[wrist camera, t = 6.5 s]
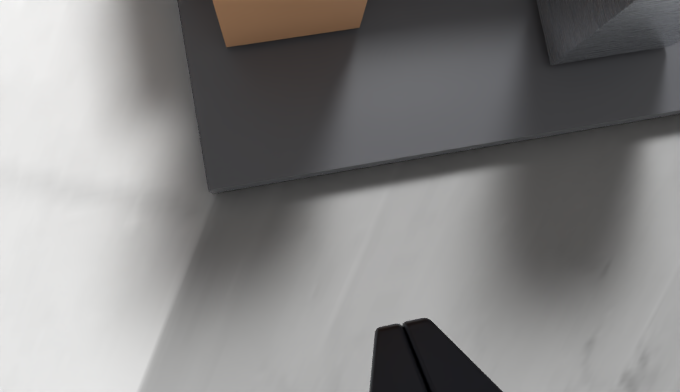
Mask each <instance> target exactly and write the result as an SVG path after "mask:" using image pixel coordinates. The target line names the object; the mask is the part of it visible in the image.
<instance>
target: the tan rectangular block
mask: <svg viewBox="0 0 680 392" xmlns="http://www.w3.org/2000/svg"><path fill="white" fill-rule="evenodd" d="M212 1H213V4H214V7H215V11H216V14H217V17H218V21H219V24H220V28H221V31H222V34H223V38H224V41H225V44H226V47H232V46H239V45H246V44H253V43H259V42H266V41H273V40H280V39H287V38H293V37H300V36H307V35H314V34H320V33H327V32H334V31H341V30H348V29H354V28H360V24H361V21H362V18H363V14H364V11H365V7H366V4H367V0H212Z"/></svg>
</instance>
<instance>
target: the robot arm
mask: <svg viewBox="0 0 680 392" xmlns="http://www.w3.org/2000/svg"><path fill="white" fill-rule="evenodd" d="M369 392H503V391H502V390H501V389H500V388H499V387H498V386H496V385H495V384H494V383H493V382H492V381H491V380H490V379H489V378H488V377H487V376H486V375H485V374H484V373H483V372H482V371H481V370H480V369H479V368H478V367H477V366H476V365H475V364H474V363H473V362H472V361H471V360H470V359H469V358H468V357H467V356H466V355H465V354H464V353H463V352H462V351H461V350H460V349H459V348H458V347H457V346H456V345H455V344H454V343H453V342H452V341H451V340H450V339H449V338H448V337H447V336H446V335H445V334H444V333H443V332H442V331H441V330H440V329H439V328H438V327H437V326H436V325H435V324H434V323H433V322H432V321H431V320H429V319H428V318H420V319H416V320H411V321H406V322H404V323H403V325H402V326H401V325H400V324H392V325H388V326H383V327H379V328H377V329H376V331H375V338H374V348H373V359H372V370H371V380H370V391H369Z"/></svg>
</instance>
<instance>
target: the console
mask: <svg viewBox="0 0 680 392" xmlns="http://www.w3.org/2000/svg"><path fill="white" fill-rule="evenodd" d="M178 6H179V12H180V18H181V24H182V30H183V36H184V43H185V49H186V55H187V61H188V67H189V73H190V79H191V85H192V91H193V98H194V104H195V110H196V116H197V122H198V128H199V134H200V140H201V146H202V153H203V159H204V165H205V171H206V177H207V183H208V189H209V191H210V192H211V193H212V194H213V193H219V192H224V191H230V190H236V189H242V188H248V187H254V186H260V185H265V184H271V183H277V182H283V181H289V180H295V179H301V178H306V177H312V176H318V175H324V174H330V173H336V172H341V171H347V170H353V169H359V168H365V167H371V166H377V165H382V164H388V163H394V162H400V161H406V160H412V159H418V158H423V157H429V156H435V155H441V154H447V153H453V152H459V151H464V150H470V149H476V148H482V147H488V146H494V145H500V144H505V143H511V142H517V141H523V140H529V139H535V138H540V137H546V136H552V135H558V134H564V133H570V132H576V131H581V130H587V129H593V128H599V127H605V126H611V125H617V124H622V123H628V122H634V121H640V120H646V119H652V118H658V117H663V116H669V115H675V114H680V42H678V43H676V44H675V45H673V46H669V47H663V48H656V49H650V50H644V51H637V52H631V53H625V54H619V55H612V56H606V57H600V58H593V59H587V60H581V61H574V62H568V63H562V64H556V65H551V64H550V60H549V55H548V51H547V46H546V42H545V37H544V33H543V28H542V24H541V19H540V15H539V10H538V6H537V1H536V0H367V4H366V7H365V11H364V14H363V18H362V21H361V24H360V28H354V29H348V30H341V31H334V32H327V33H320V34H314V35H307V36H300V37H293V38H287V39H280V40H273V41H266V42H259V43H253V44H246V45H239V46H232V47H226V44H225V41H224V38H223V34H222V31H221V28H220V24H219V21H218V17H217V14H216V11H215V7H214V4H213V1H212V0H178Z"/></svg>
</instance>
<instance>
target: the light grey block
mask: <svg viewBox="0 0 680 392" xmlns="http://www.w3.org/2000/svg"><path fill="white" fill-rule="evenodd" d="M536 1H537V6H538V10H539V15H540V19H541V24H542V28H543V33H544V37H545V42H546V46H547V51H548V55H549V60H550V64H551V65H556V64H562V63H568V62H574V61H581V60H587V59H593V58H600V57H606V56H612V55H619V54H625V53H631V52H637V51H644V50H650V49H656V48H663V47H669V46H673V45H675V44H676V43H678V42H680V0H536Z"/></svg>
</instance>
